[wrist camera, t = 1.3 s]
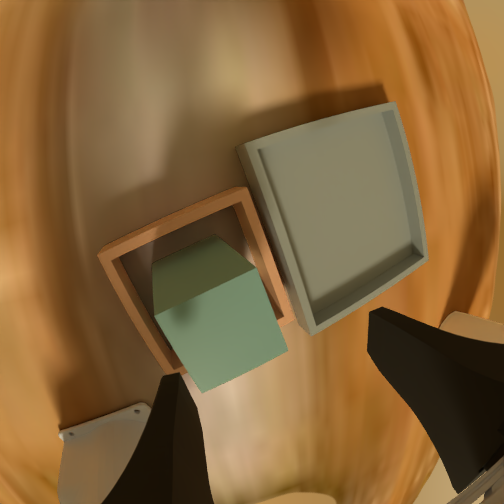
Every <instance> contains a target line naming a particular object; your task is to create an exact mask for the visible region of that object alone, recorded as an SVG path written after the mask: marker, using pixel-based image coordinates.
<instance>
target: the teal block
mask: <svg viewBox="0 0 504 504" xmlns="http://www.w3.org/2000/svg"><path fill="white" fill-rule="evenodd" d="M152 286H153V305H154V317H155V318H156V320H157V322H158V324H159V325H160V327H161V329H162V331H163V332H164V334H165V336H166V337H167V339H168V341H169V342H170V344H171V346H172V347H173V349H174V351H175V352H176V354H177V356H178V357H179V359H180V360H181V362H182V364H183V365H184V367H185V368H186V370H187V371H188V373H189V375H190V376H191V378H192V379H193V381H194V382H195V384H196V385H197V387H198V388H199V390H200V391H201V393H204V392H206V391H208V390H211V389H213V388H215V387H217V386H219V385H221V384H224V383H226V382H228V381H230V380H232V379H234V378H236V377H238V376H240V375H242V374H244V373H246V372H248V371H250V370H252V369H254V368H256V367H258V366H260V365H262V364H264V363H266V362H268V361H270V360H272V359H274V358H276V357H277V356H279V355H281V354H283V353H285V352H287V351H288V348H287V345H286V343H285V340H284V338H283V335H282V332H281V330H280V327H279V325H278V322H277V319H276V317H275V314H274V312H273V309H272V306H271V304H270V301H269V299H268V296H267V294H266V291H265V288H264V286H263V283H262V281H261V278H260V275H259V273H258V270H257V268H256V267H255V266H254V265H253V264H251V263H250V262H249V261H248V260H246V259H245V258H244V257H243V256H241V255H240V254H239V253H238V252H237V251H235V250H234V249H233V248H232V247H230V246H229V245H228V244H227V243H225V242H224V241H223V240H222V239H220V238H219V237H218V236H217V235H216V234H215V235H212V236H210V237H208V238H206V239H204V240H201V241H199V242H197V243H195V244H193V245H190V246H188V247H186V248H184V249H182V250H180V251H177V252H175V253H173V254H171V255H169V256H167V257H165V258H162V259H160V260H158V261H156V262H154V263H152Z"/></svg>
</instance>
